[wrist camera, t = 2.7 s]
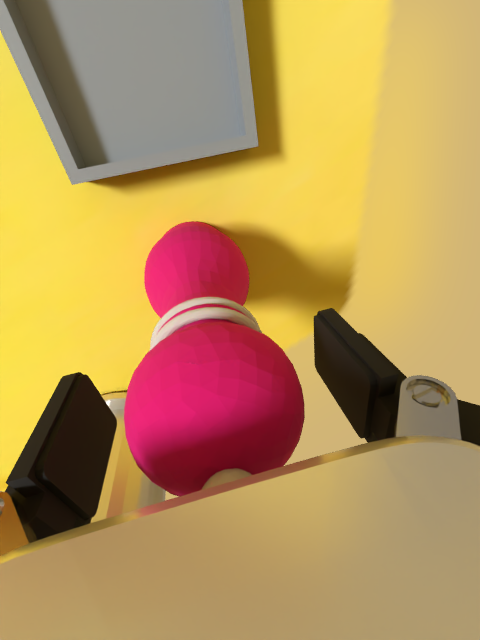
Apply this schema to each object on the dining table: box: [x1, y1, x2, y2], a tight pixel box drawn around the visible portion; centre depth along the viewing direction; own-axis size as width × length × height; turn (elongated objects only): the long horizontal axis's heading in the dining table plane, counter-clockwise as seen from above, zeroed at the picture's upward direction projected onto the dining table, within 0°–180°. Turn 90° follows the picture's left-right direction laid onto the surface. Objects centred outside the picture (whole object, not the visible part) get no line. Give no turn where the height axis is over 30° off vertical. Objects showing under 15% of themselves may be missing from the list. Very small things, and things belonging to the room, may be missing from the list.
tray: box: [0, 0, 258, 185], centre depth 14 cm, size 12×12×2 cm
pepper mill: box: [124, 221, 304, 496], centre depth 14 cm, size 7×7×20 cm
